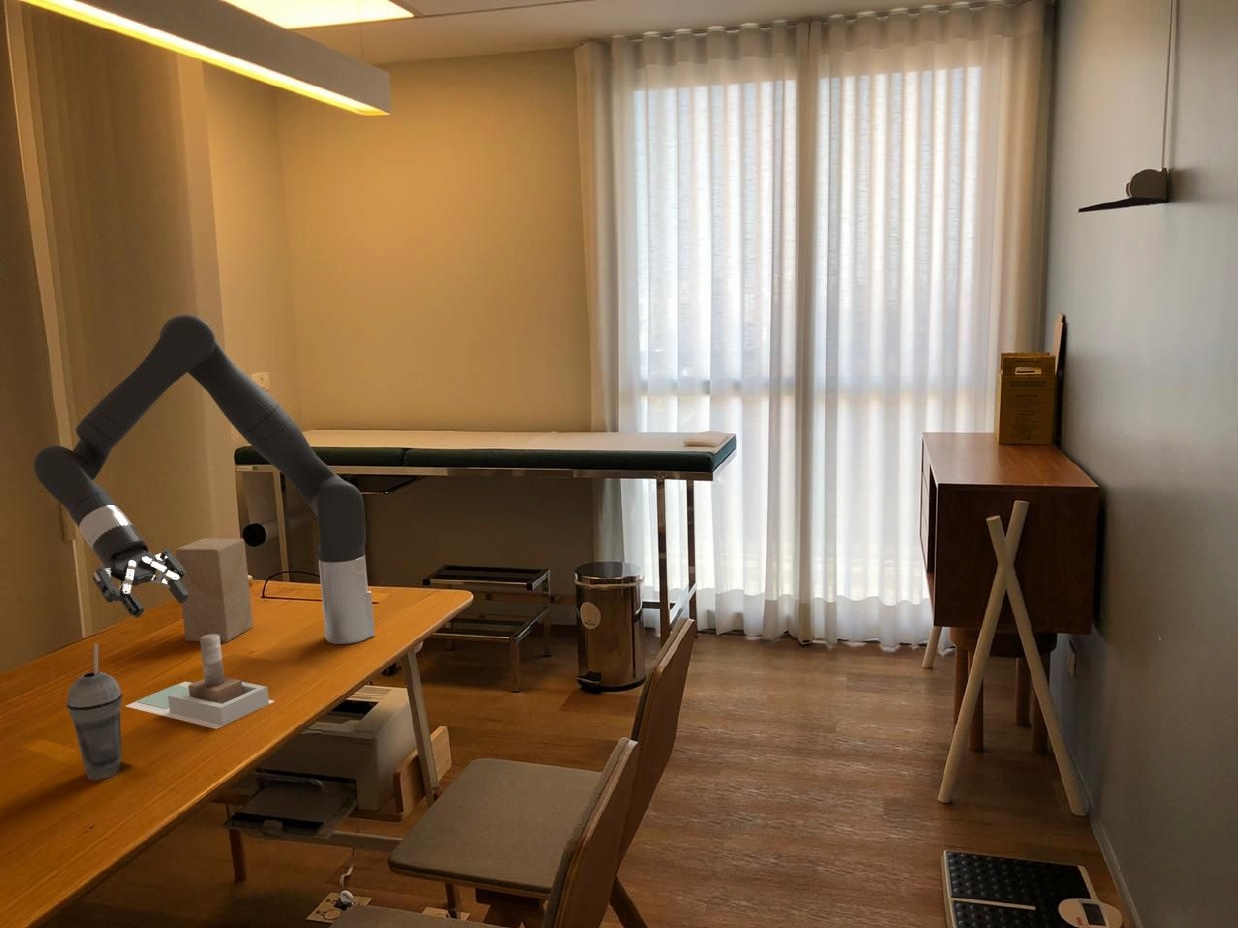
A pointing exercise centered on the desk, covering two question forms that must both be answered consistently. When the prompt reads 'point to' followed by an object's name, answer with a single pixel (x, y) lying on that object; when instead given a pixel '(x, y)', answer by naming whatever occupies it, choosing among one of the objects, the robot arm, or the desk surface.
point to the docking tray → (203, 705)
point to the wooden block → (215, 588)
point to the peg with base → (214, 675)
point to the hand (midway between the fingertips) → (163, 607)
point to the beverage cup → (97, 721)
